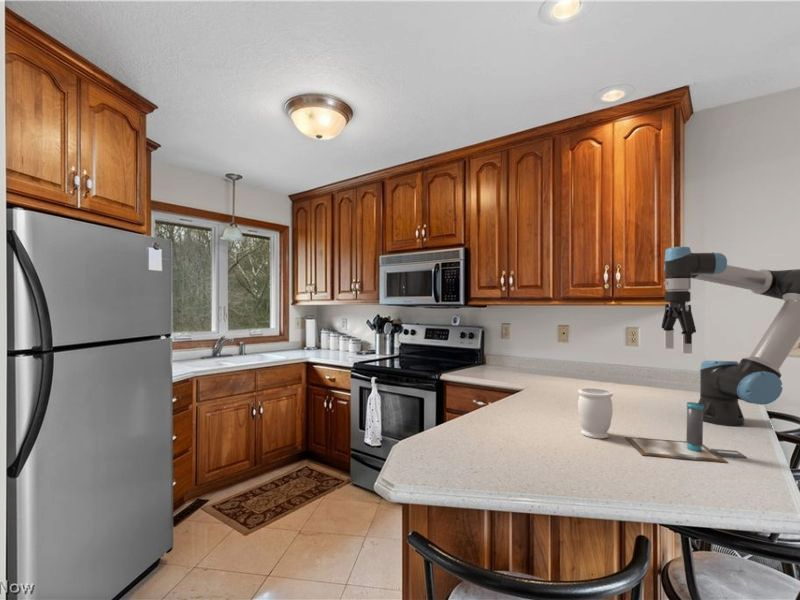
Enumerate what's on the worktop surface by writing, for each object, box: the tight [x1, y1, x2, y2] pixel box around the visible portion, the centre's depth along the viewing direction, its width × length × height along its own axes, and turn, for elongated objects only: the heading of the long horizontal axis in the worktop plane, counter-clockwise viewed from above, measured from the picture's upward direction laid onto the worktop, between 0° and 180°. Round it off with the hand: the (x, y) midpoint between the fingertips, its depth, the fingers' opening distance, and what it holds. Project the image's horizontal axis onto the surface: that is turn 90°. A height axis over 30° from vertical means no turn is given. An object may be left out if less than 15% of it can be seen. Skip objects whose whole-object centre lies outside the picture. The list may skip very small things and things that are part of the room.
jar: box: [577, 387, 614, 440], centre depth 140 cm, size 11×10×15 cm
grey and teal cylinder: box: [686, 401, 704, 452], centre depth 126 cm, size 4×4×14 cm
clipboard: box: [625, 436, 729, 464], centre depth 127 cm, size 22×16×1 cm
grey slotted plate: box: [710, 448, 748, 459], centre depth 124 cm, size 7×5×1 cm
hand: (677, 350), depth 146 cm, fingers open, 13 cm apart
